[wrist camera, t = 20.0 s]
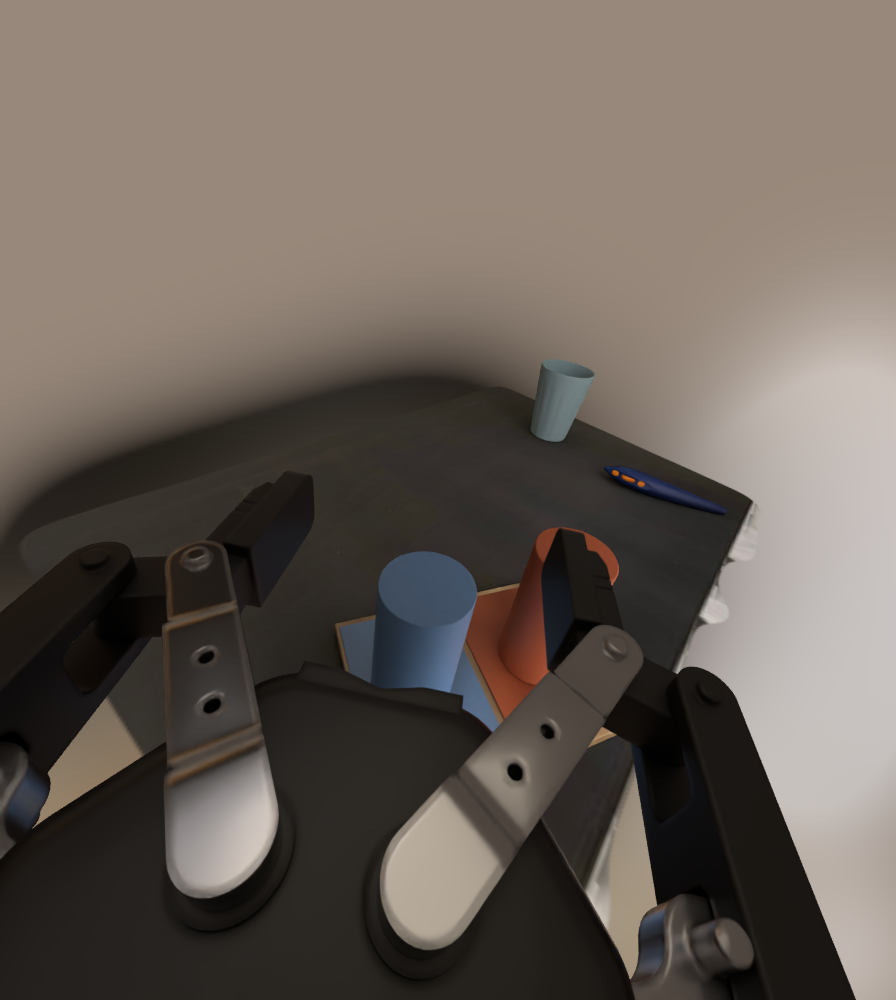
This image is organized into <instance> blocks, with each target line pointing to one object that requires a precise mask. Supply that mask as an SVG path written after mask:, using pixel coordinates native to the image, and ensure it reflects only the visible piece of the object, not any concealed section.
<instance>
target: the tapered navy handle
mask: <svg viewBox="0 0 896 1000" xmlns="http://www.w3.org/2000/svg"><path fill="white" fill-rule="evenodd" d="M604 469H605V470H606V472H607V473H608V474H609V475H610V476H611V477H613V478H614V479H615V480H617V481H618V482H620V483H621V484H623V485H625V486H627V487H629V488H631V489H634V490H636V491H639V492H642V493H644V494H647V495H650V496H653V497H657V498H660V499H663V500H666V501H670V502H673V503H677V504H681V505H684V506H688V507H692V508H696V509H700V510H704V511H708V512H713V513H717V514H721V515H724V514H725V513H726V512H727V509H726V508H725V507H722V506H720V505H718V504H715V503H713V502H711V501H709V500H706V499H704V498H702V497H699V496H697V495H695V494H693V493H690V492H688V491H686V490H683V489H681V488H679V487H676V486H674V485H672V484H669V483H667V482H664V481H662V480H660V479H658V478H656V477H653V476H651V475H648V474H646V473H644V472H641V471H638V470H635V469H631V468H627V467H620V466H611V467H604Z"/></svg>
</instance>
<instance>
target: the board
mask: <svg viewBox="0 0 896 1000" xmlns="http://www.w3.org/2000/svg"><path fill="white" fill-rule="evenodd" d="M519 585H520V583H518V584H514V585H509V586H505V587H500V588H495V589H491V590H486V591H482V592H477V599H476V603H475V607H474V610H473V614H472V617H471V621H470V624H469V628H468V631H467V635H466V638H465V642H464V645H463V649H462V652H461V656H460V659H459V663H458V666H457V670H456V673H455V677H454V680H453V684H452V687H451V691H450V693H454V694H459V695H463V706H462V708H463V709H464V710H466V711H468V712H470V713H471V714H473V715H474V716H476V717H477V718H478V719H480V720H481V721H482V722H483V723H484V724H485V725H486V726H487V727H488V728H489V729H490V730H491V731H492V732H494V731H495V729H496V728H497V727H498V726H499V725H500V724H501V723H502V722H503V721H504V720H505V719H506V717H507V716H508V715H509V714H510V713H511V712H512V711H513V710H514V709H515V708H516V707H517V705H518V704H519V703H520V702H521V701H522V700H523V699H524V698H525V697H526V696H527V694H528V693H529V692H530V691H531V690H532V689H533V688H534V687H535V686H536V685H533V684H530V683H527V682H524V681H522V680H520V679H519V678H517V677H516V676H514V675H513V674H512V673H511V672H510V671H509V670H508V669H507V668H506V666H505V665H504V663H503V662H502V659H501V657H500V654H499V640H500V637H501V634H502V631H503V629H504V626H505V623H506V620H507V618H508V615H509V612H510V609H511V607H512V604H513V601H514V598H515V596H516V593H517V590H518V587H519ZM375 617H376V615H373V616H369V617H364V618H359V619H355V620H350V621H346V622H341V623H337V624H335V635H336V639H337V644H338V648H339V653H340V658H341V662H342V667H343V670H345V671H347V672H349V673H351V674H353V675H355V676H357V677H359V678H361V679H363V680H365V681H367V682H369V683H371V670H372V657H373V644H374V631H375ZM613 736H616V734H614V733H612V732H610V731H609V730H607V729H605V728H603V727H602V728H601V729H600V731H599V732H598V734H597V735H596V736H595V738H594V739H593V741H592V742H591V744H590V745H589V747H590V746H593V745H595V744H597V743H600V742H602V741H604V740H606V739H609V738H611V737H613Z"/></svg>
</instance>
